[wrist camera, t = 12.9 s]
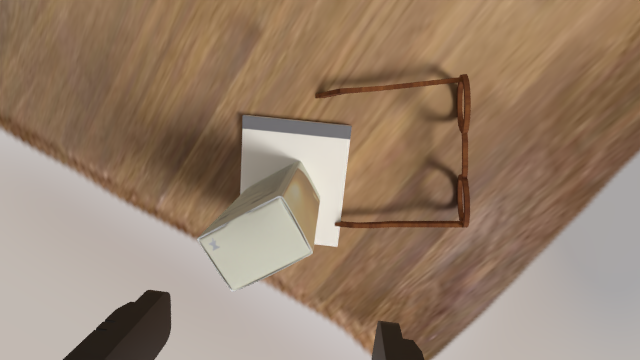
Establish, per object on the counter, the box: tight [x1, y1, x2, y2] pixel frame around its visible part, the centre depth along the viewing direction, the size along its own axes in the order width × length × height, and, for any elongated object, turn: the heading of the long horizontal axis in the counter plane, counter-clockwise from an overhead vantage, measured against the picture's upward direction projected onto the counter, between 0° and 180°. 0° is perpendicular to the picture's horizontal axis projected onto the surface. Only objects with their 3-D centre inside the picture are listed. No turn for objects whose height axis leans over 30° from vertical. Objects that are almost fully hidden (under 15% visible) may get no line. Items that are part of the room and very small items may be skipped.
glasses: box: [315, 74, 471, 228], centre depth 29 cm, size 13×13×5 cm
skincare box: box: [197, 161, 320, 292], centre depth 26 cm, size 6×4×12 cm
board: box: [240, 115, 352, 247], centre depth 32 cm, size 12×10×1 cm
